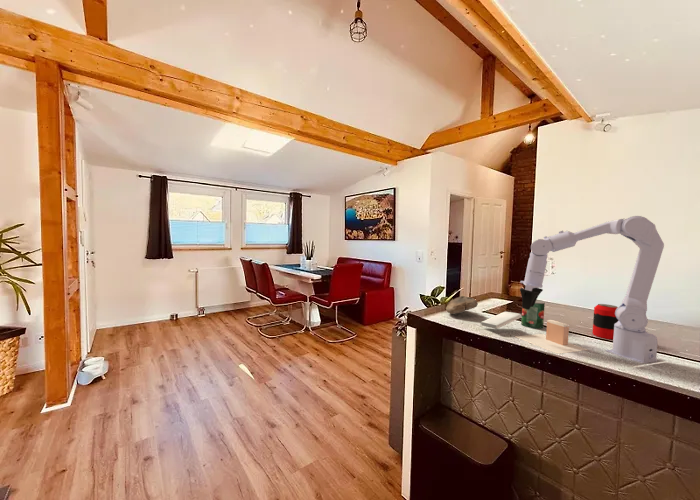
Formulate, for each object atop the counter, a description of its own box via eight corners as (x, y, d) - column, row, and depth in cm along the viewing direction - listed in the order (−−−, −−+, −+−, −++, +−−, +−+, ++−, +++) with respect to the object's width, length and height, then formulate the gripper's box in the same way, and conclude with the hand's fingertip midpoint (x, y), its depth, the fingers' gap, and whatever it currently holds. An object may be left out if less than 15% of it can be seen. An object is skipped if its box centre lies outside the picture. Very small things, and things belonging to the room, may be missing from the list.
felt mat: (588, 351, 94) (588, 349, 94) (557, 355, 90) (557, 353, 90) (542, 334, 110) (542, 333, 110) (514, 337, 105) (514, 336, 105)
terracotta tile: (567, 344, 98) (569, 324, 98) (562, 345, 98) (564, 325, 97) (550, 338, 104) (552, 319, 104) (545, 339, 103) (547, 320, 103)
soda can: (588, 334, 112) (590, 304, 111) (597, 332, 115) (600, 302, 115) (613, 341, 105) (615, 308, 105) (622, 338, 109) (624, 307, 108)
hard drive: (496, 325, 107) (520, 313, 110) (480, 321, 115) (504, 310, 118) (497, 329, 107) (522, 317, 110) (481, 325, 115) (505, 314, 118)
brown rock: (448, 308, 149) (448, 316, 130) (444, 299, 149) (443, 306, 130) (475, 300, 145) (479, 307, 126) (471, 291, 145) (474, 296, 126)
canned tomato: (547, 330, 115) (548, 303, 115) (526, 328, 117) (527, 302, 116) (537, 324, 123) (539, 299, 123) (517, 323, 124) (519, 298, 124)
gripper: (526, 268, 114) (520, 301, 115) (518, 270, 103) (511, 306, 104) (548, 272, 109) (540, 306, 111) (541, 275, 98) (533, 313, 100)
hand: (527, 307), depth 107 cm, fingers open, 7 cm apart
